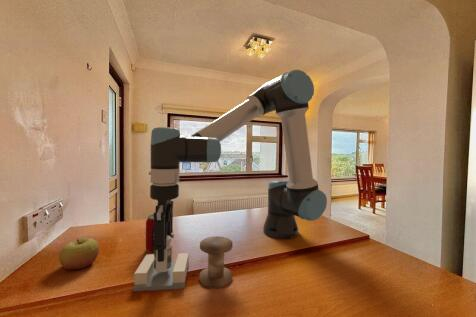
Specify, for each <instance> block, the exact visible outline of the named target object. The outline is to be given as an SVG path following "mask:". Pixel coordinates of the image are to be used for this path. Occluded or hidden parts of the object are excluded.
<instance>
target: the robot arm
mask: <svg viewBox="0 0 476 317" xmlns="http://www.w3.org/2000/svg"><path fill="white" fill-rule="evenodd" d="M314 94H315V86H314V83H313V80H312V78H311V77H310V75H308V74H307V73H306V72H305V71H304V70H299V69H293V70H291V71H290V70H289V71H287V72H284V73H283V74H281V75H279V76H277V77H275V78H273V79H270V80H268V81H267V82H265V83H264V84H263V85H262V86H261V87H259V88H258V89H257V90H256V91H254V92H253V93H251V94H250V95H248V96H247V97H246V100H245V101H244V102H242V103H240V104H239V105H237V106H235V107H234V108H232V109H231V110H229V111H228V112H226V113H224V114H223V115H222V116H220V117H219V118H216V119H215V120H214V121H212V122H210V123H209V124H207V125H206V126H204V127H203V128H201V129H199V130H198V131H196V132H195V133H194V134H191V135H190V136H186V135H185V136H184V135H181V131H180V129H178V128H176V127H168V126H167V127H164V126H163V127H162V126H160V127H155V128H153V129H152V130H151V133H150V134H151V135H150V171H149V172H148V175H149V176H150V183H151V185H150V187H149V189H150V190H149V194H150V195H149V198H150V199H151V200H156V201H157V205H155V209H154V210H155V211H154V212H153V214H152V215H153V216H154V247H153V249H154V250H156V272H167V247H166V241H167V235H169V236H170V237H171V239H173V238H174V237H175V234H174V232H173V230H174V228H173V225H174V224H173V223H174V222H173V220H174V219H173V218H174V217H173V215H174V211H173V210H174V204H175V203H174V200H176V199H178V197H179V196H180V185H179V184H178V183H179V182H180V163H206V164H209V163H216V162H219V160H220V158H221V154H222V145H221V142H222V141H223V140H225V139H226V138H228V137H229V136H231V135H232V134H234V133H235V132H237V131H238V130H239V129H241V128H243V127H244V126H246V125H247V124H248V123H250V122H251V121H253V120H254V119H255V118H262V117H263V116H264V115H267V114H268V113H271V112H274V111H275V114H276V115H277V116H278V117H279V118H280V120H281V121H280V122H281V127H282V129H281V130H282V135H283V141H284V143H283V144H284V151H285V155H286V157H285V158H286V164H287V170H288V171H287V172H288V178H289V180H273V181H270V182H269V183H268V189H267V192H268V194H267V215H266V218H265V221H264V223H263V227H262V228H263V230H262V231H263V233H264V234H265V235H266V236H268V237H270V238H274V237H275V239H279V238H290V239H293V238H292V237H294V238H296V237H297V235H299V228H298V224H297V221H296V217H298V218H300V219H301V220H306V221H309V222H311V221H312V222H313V221H317V220H318V219H319V218H321V217H322V216H323V215H324V212H325V211H326V208H327V204H328V198H327V195H326V194H325V193H324V192H323V191H322V190H320V189H319V183H318V180H316V179H315V178H314V176H313V167H312V160H311V154H310V143H309V137H308V127H307V121H306V120H307V119H306V113H307V111H308V110H309V108H310V105H309V103H310V101H311V100H312V99H313V97H314ZM295 236H296V237H295ZM170 243H171V244H172V241H171V242H170Z"/></svg>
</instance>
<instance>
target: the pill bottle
mask: <svg viewBox="0 0 476 317" xmlns="http://www.w3.org/2000/svg"><path fill="white" fill-rule="evenodd" d="M170 242H171V243H170ZM166 247H167V270H168V269H169V268H170V267H171V265H172V262H173V261H172V260H173V258H172V256H173V244H172V238H171V237H170V236H169V235H167V241H166ZM153 254H154V269H155V270H156V250H154V253H153Z"/></svg>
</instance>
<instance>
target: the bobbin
mask: <svg viewBox="0 0 476 317" xmlns="http://www.w3.org/2000/svg"><path fill="white" fill-rule="evenodd" d="M232 248H233V240H231V239H230V238H228V237H225V236H209V237H206V238H203V239H202V240H201V241H200V243H199V249H200V251H202V252H203V253H206V254H208V255H207V267H206V268H204V269H202V270H201V271H200V273H199V282H200V284H201V285H202V286H204V287H206V288H209V289H220V288H223V287H226V286H228V285H229V284H230V283H231V281H232V277H233V275H232V271H231V269H230V268H227V267H225V266H224V265H225V254H226V253H228V252H230V251H231V250H232Z"/></svg>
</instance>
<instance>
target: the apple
mask: <svg viewBox="0 0 476 317" xmlns="http://www.w3.org/2000/svg"><path fill="white" fill-rule="evenodd" d="M99 254H100V245H99V243H98V241H97V240H96V239H94V238H91V237H82V238H77V239H74V240H72V241H69V242H67V243H66V244H64V245H63V247H62V248H61V250H60V252H59V254H58V261H59V264H60V265H61V266H62V267H63V268H64V269H67V270H70V271H71V270H75V271H76V270H80V269H83V268H86V267H88V266H89V265H91V264H92V263H94V261H96V259H97V257H98V256H99Z"/></svg>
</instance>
